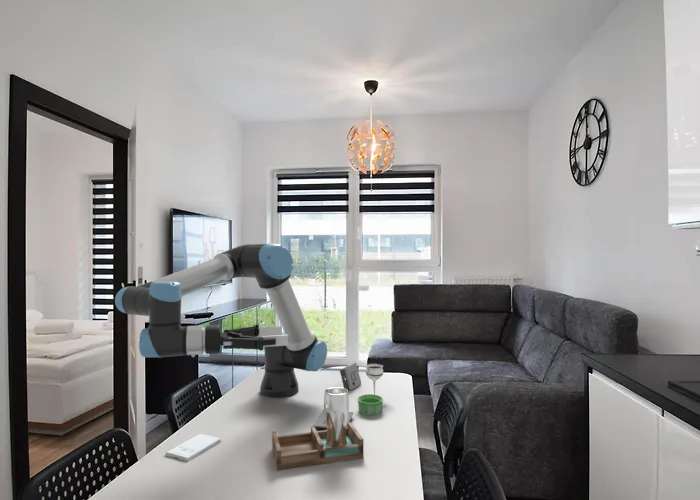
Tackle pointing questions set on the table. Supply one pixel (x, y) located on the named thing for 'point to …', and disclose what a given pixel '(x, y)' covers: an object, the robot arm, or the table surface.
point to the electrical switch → (350, 376)
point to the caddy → (314, 448)
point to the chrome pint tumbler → (336, 416)
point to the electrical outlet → (322, 423)
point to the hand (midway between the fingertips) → (284, 335)
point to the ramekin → (370, 404)
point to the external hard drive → (193, 447)
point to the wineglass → (374, 372)
